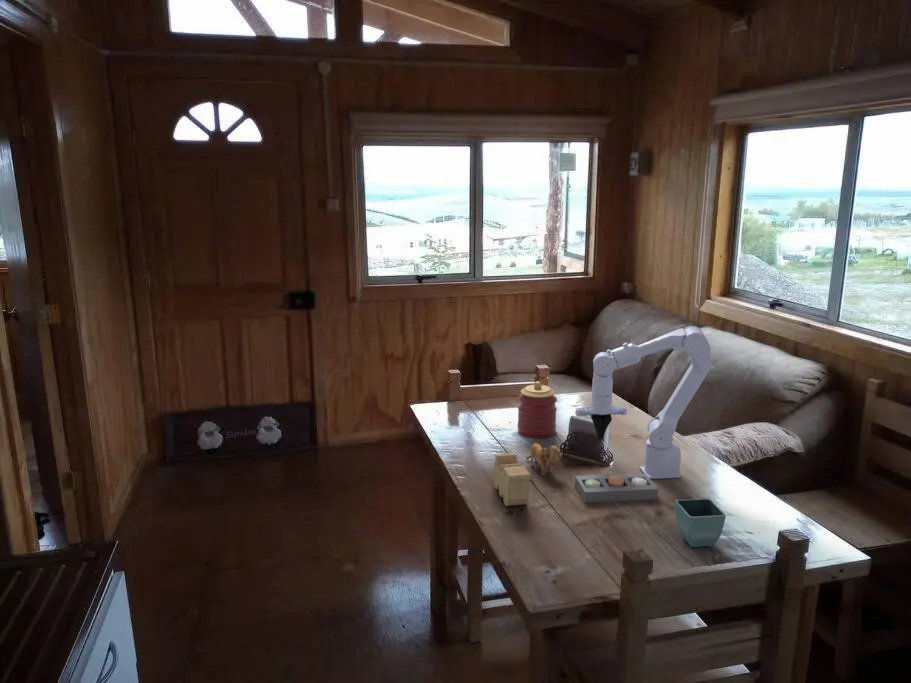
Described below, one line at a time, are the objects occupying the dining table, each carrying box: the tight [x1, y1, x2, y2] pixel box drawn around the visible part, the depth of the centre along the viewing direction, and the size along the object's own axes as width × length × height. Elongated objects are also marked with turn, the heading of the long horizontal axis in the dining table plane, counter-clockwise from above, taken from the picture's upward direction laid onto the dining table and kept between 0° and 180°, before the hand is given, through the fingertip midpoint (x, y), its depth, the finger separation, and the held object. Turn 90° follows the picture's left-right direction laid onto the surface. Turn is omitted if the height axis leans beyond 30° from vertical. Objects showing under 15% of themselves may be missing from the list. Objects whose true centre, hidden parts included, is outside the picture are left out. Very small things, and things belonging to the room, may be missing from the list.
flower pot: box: [674, 498, 727, 548], centre depth 162 cm, size 9×9×9 cm
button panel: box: [574, 472, 659, 503], centre depth 187 cm, size 20×10×3 cm, turn 95°
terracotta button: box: [608, 473, 624, 487], centre depth 187 cm, size 4×4×3 cm
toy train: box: [492, 452, 531, 507], centre depth 185 cm, size 6×17×10 cm, turn 11°
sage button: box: [585, 479, 600, 488], centre depth 187 cm, size 4×4×3 cm
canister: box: [516, 380, 558, 439], centre depth 230 cm, size 13×13×18 cm
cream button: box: [631, 478, 647, 486], centre depth 188 cm, size 4×4×3 cm
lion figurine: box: [525, 442, 564, 476], centre depth 202 cm, size 15×5×9 cm, turn 32°
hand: (599, 438), depth 201 cm, fingers closed
